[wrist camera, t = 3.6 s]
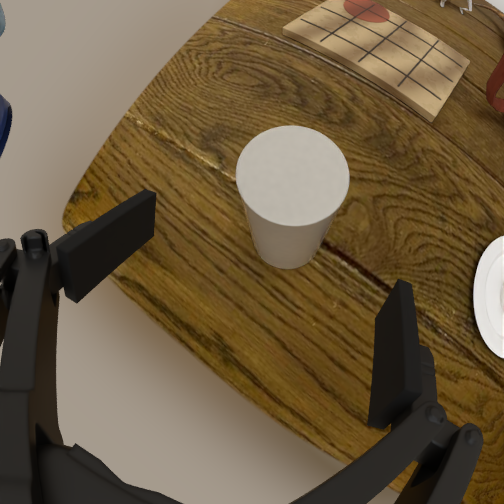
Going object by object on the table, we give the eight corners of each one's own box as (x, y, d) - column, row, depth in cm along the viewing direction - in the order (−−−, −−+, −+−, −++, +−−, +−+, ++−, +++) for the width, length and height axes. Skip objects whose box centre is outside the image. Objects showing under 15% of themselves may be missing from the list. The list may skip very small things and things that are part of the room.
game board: (282, 34, 32) (282, 26, 30) (345, -5, 33) (346, -11, 32) (431, 123, 27) (435, 116, 26) (467, 66, 29) (471, 60, 28)
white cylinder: (238, 238, 26) (212, 178, 15) (282, 190, 27) (284, 108, 16) (291, 283, 25) (302, 250, 14) (335, 231, 26) (370, 167, 15)
